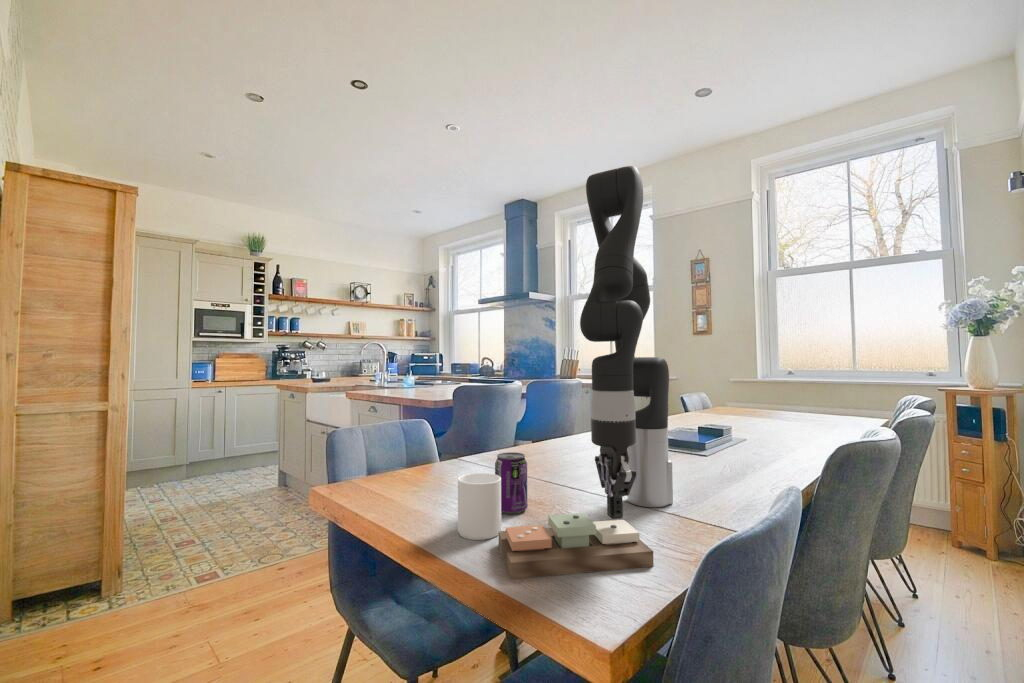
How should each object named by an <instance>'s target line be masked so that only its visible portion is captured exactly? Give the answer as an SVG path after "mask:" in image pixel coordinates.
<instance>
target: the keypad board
mask: <svg viewBox="0 0 1024 683" xmlns="http://www.w3.org/2000/svg"><path fill="white" fill-rule="evenodd" d="M544 529H545V530H546V532H547V533H548V534H549V536H550V537H551V539H552V548H545V550H536V551H523V552H514V551H512V549H511V547H510V544H509V542H508V540H507V537H506V530H503V531H502V530H501V531H499V534H498V547H499V550H500V553H501V555H502V558H503V561H504V564H505V567H506V569H507V572H508V576H509V578H510V579H511V580H513V579H525V578H537V577H550V576H559V575H560V576H561V575H569V574H570V575H572V574H583V573H593V572H594V573H595V572H605V571H606V572H607V571H616V570H619V571H620V570H630V569H641V568H651V567H654V566H655V565H654V550H653V549H652V548H650V547H649V546H648V545H647V544H646V543H644V542H643V541H642V539H640V538H639V541H636V542H632V543H626V544H613V545H604V544H602V543H601V542H600V541H599V540H598V538H597V537H596V536H595V535H589V546H587V547H574V548H560V546H559V545H558V543H557V542H556V541H555V532H554V531H553V529H552V528H551V527H544Z"/></svg>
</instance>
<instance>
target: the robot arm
mask: <svg viewBox="0 0 1024 683" xmlns="http://www.w3.org/2000/svg"><path fill="white" fill-rule="evenodd" d="M585 190H586V191H585V194H586V200H587V205H588V209H589V214H590V217H591V222H592V226H593V230H594V235H595V239H596V242H597V247H598V250H597V253H596V255H595V261H594V271H593V273H594V274H593V283H592V287H591V289H590V292H589V295H588V297H587V299H586V301H585V304H584V305H583V308H582V311H581V314H580V320H579V327H580V331H581V334H582V335H583V337H584V338H585V339H586V340H588V341H589V342H593V343H595V342H596V343H600V342H601V343H603V342H605V343H606V342H614V346H615V352H612V353H609V354H603V355H599V356H596V357H595V358H593V360H592V362H591V398H590V426H591V427H590V432H591V433H590V434H591V437H590V438H591V443H592V444H594V445H596V446H597V447H600V448H599V455H595V457H594V463H595V465H596V469H597V470H596V471H597V474H598V479H599V482H600V486H601V488H602V489H604V493H605V495H606V508H607V509H606V510H607V511H606V512H607V516H608V517H609V518H610V519H611V520H622V519H623V516H624V511H623V510H624V509H623V504H624V503H623V498H624V497H627V502H629V503H630V504H632V505H636V506H639V507H645V508H646V507H647V508H661V507H662V508H663V507H666V506H668V505H673V504H674V491H673V490H674V486H673V484H674V483H673V481H674V480H673V462H672V461H671V460H670V459H669V420H668V419H669V389H670V388H669V387H670V371H669V370H670V369H669V365H668V362H667V360H666V359H665V358H664V357H658V356H657V357H654V356H651V357H650V356H648V357H647V356H641V357H640V356H639V357H637V356H635V355H636V348H637V345H638V340H639V338H640V335H641V331H642V327H643V321H644V320H645V318H646V316H647V314H648V311H649V309H650V305H651V295H650V288H649V281H648V276H647V275H648V274H647V272H646V270H645V268H644V267H643V265H642V264H641V263H640V262H639V261H638V260H637V258H636V257H635V256H634V253H635V247H636V246H635V245H636V240H637V237H638V232H639V226H640V221H641V216H642V210H643V203H644V186H643V180H642V177H641V174H640V171H639V170H638V168H637V167H635V166H633V165H626V166H622V167H617V168H612V169H609V170H605V171H600V172H597V173H593V174H590V175H589V176H588V177H587V179H586V183H585ZM616 216H620V217H619V218H618V220H617V222H616V223H615V225H614V226H612V224H611V220H610V217H611V218H612V217H616ZM635 397H638V398H640V397H642V398H643V397H644V398H650V399H649V404H647V405H646V406H645V407H643V408H641V409H639V410H636V399H635Z"/></svg>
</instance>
